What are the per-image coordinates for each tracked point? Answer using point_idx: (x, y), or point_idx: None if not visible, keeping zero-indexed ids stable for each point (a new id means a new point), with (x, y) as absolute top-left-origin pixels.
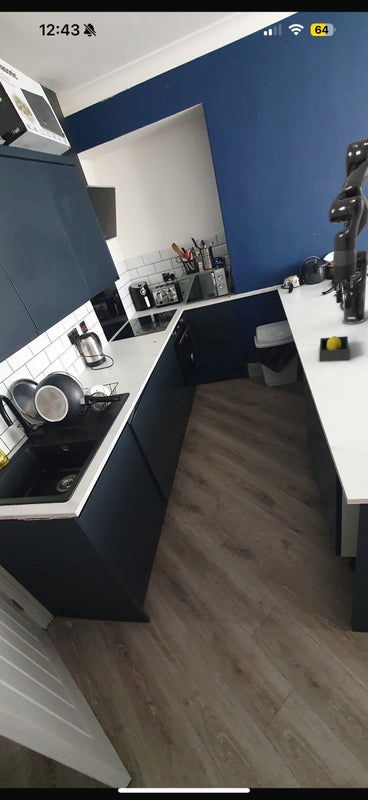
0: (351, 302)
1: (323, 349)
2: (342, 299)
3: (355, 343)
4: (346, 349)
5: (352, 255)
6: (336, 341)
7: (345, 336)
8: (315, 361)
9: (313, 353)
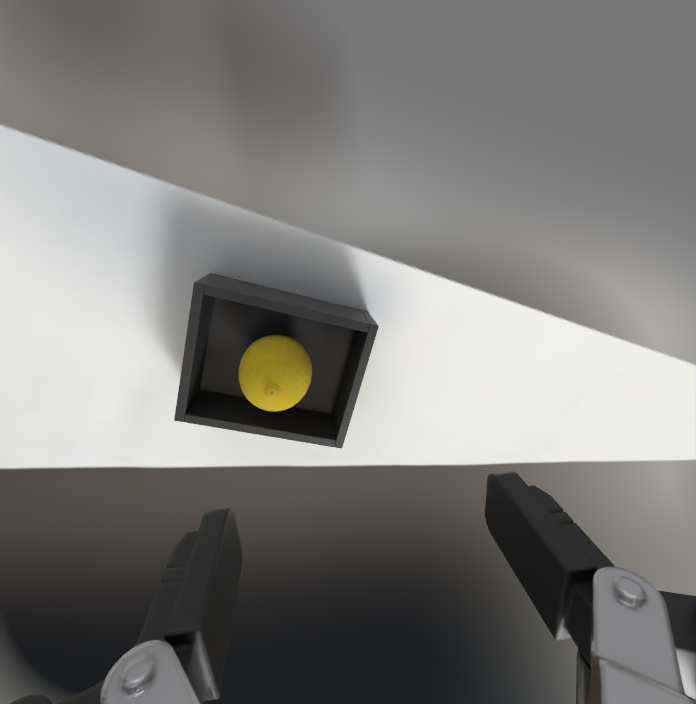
0: (555, 520)
1: (221, 387)
2: (223, 534)
3: (186, 222)
4: (372, 335)
5: None
6: (304, 376)
7: (194, 294)
8: None
9: None
